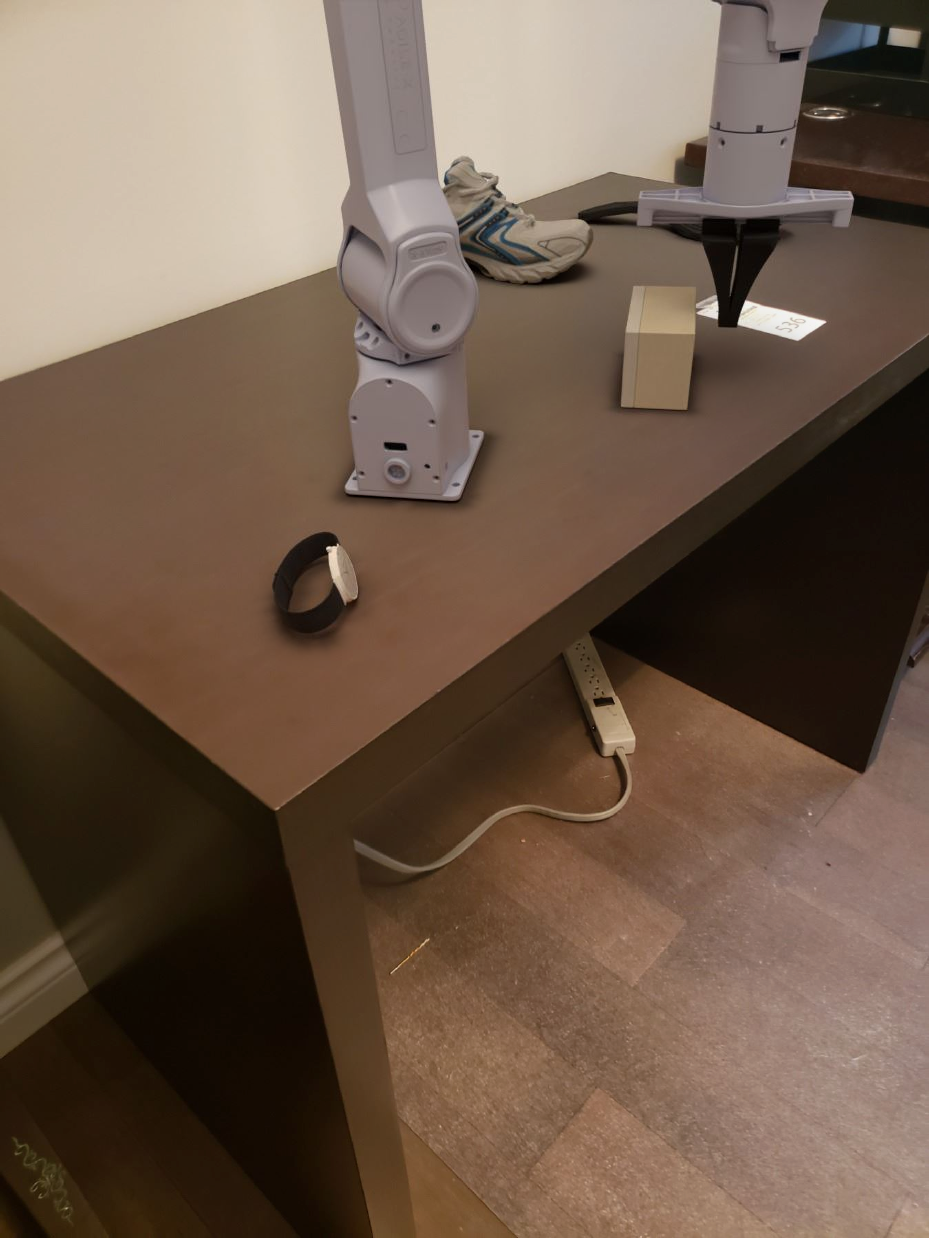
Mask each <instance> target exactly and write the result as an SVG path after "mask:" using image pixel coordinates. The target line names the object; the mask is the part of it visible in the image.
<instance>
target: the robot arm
mask: <svg viewBox="0 0 929 1238" xmlns="http://www.w3.org/2000/svg"><path fill="white" fill-rule="evenodd" d="M710 1H711V2H713V3H717V4H719V5H720V6H721V9H720V16H719V17H720V19H719V27H718V28H719V29H718V39H717V47H716V57H715V67H714V77H713V87H712V95H711V97H712V98H711V104H710V105H711V106H710V114H709V115H710V116H709V124H708V134H707V144H706V155H705V164H704V173H703V175H704V176H703V184H702V186H695V187H694V186H693V187H682V188H671V189H660V190H640V191H639V194H638V200H637V201H638V214H636V215H637V216H636V227H651V226H652V225H653V224H668V223H687V224H701V240H702V242H701V244H702V246H703V250H704V253H705V255H706V259H707V261H708V264H709V268H710V271H711V276H712V279H713V283H714V287H715V294H716V301H717V328H727V329H728V328H729V329H736V328H738V324H739V320H740V318H741V317H740V316H741V314H742V310H743V308H744V306H745V303H746V301H747V300H746V299H747V298H748V296H749V294H750V292H751V289H752V287H753V285H754V283H755V281H756V280H757V278H758V276H759V274H760V272H761V270H762V269H763V268H764V266H765V264H766V263H767V261H768V260H769V258H770V257H771V255H772V254H773V253H774V251H775V249H776V247H777V245H778V244H779V241H780V234H781V233H780V226H781V225H780V224H782V225H823V226H824V225H829V226H830V225H831V227H832V228H836V229H837V228H838V229H839V228H840V229H841V228H843V229H844V228H845V229H846V228H849V226H850V221H851V217H852V211H853V208H854V201H855V198H854V196H853V193H852V191H850V190H828V189H815V188H805V187H792V186H788V185H789V179H790V172H791V166H792V160H793V153H794V147H795V142H796V141H795V140H796V134H797V128H798V122H799V115H800V109H801V102H802V97H803V90H804V85H805V77H806V72H807V66H808V65H807V64H808V58H809V51H810V47H811V46H812V45H813V43H814V39H815V37H817V36H818V35H819V28H820V24H821V23H820V21H821V17H822V14H823V12H824V9H825V6H826V5H827V3H828V1H829V0H710ZM322 5H323V11H324V18H325V24H326V31H327V37H328V44H329V52H330V58H331V65H332V71H333V77H334V84H335V85H334V86H335V90H336V91H335V93H336V97H337V105H338V111H339V119H340V124H341V130H342V137H343V143H344V151H345V158H346V164H347V165H346V166H347V171H348V178H349V187H348V189H347V191H346V194H345V196H344V198H343V200H342V202H341V206H340V213H341V218H342V219H341V220H342V228H343V231H342V240H341V244H340V247H339V250H338V253H337V254H338V255H337V258H336V276H337V282H338V284H339V288H340V289H341V292H342V293H343V295H344V297H345V298H346V299H347V300H348V302H349V303H351V305H352V306H354V307H355V308H356V309H357V314H358V316H357V318H356V323H355V326H354V333H353V340H354V348H355V356H356V357H355V358H356V364H357V374H358V378H357V384H356V386H355V388H354V390H353V392H352V395H351V397H350V400H349V403H348V410H347V411H348V422H349V423H348V424H349V432H350V438H351V445H352V446H351V447H352V452H353V453H352V454H353V461H354V470H353V471H352V473H351V475H350V476H349V479H348V480H347V481H346V483H345V484H344V492H345V493H346V494H348V495H355V496H356V495H357V496H372V497H387V498H389V497H390V498H400V499H401V498H402V499H403V498H404V499H415V500H416V499H419V500H433V501H447V502H448V501H450V502H455V501H458V500H460V499H461V497H462V495H463V492H464V490H465V487H466V484H467V481H468V480H469V477H470V475H471V472H472V470H473V466H474V464H475V462H476V459H477V456H478V454H479V452H480V449H481V446H482V444H483V442H484V438H485V433H484V431H483V430H478V429H470V424H469V423H470V421H469V401H468V381H467V360H466V339H465V337H466V336H467V335H468V334H469V332H470V330H471V329H472V327H473V325H474V324H475V320H476V318H477V314H478V310H479V306H480V305H479V304H480V303H479V302H480V293H479V292H480V291H479V286H478V283H477V280H476V277H475V274H474V273H473V271H472V270H471V268H470V267H469V264H468V263H466V262H465V260H464V257H463V255H462V252H461V248H460V241H459V229H458V225H457V222H456V220H455V218H454V215H453V213H452V211H451V208H450V206H449V204H448V202H447V199H446V197H445V195H444V193H443V190H442V188H443V187H442V185H441V183H440V180H439V169H438V159H437V149H436V137H435V129H434V128H435V127H434V118H433V116H434V115H433V108H432V107H433V106H432V97H431V96H432V95H431V85H430V74H429V63H428V53H427V43H426V35H425V34H426V32H425V31H426V30H425V21H424V12H423V11H424V10H423V0H322ZM737 224H740V233H739V241H737V239H736V236H737ZM735 258H736V261H735ZM735 262H736V263H735ZM734 265H735V270H734ZM733 272H734V275H733ZM733 276H734V277H733ZM732 280H733V281H732Z"/></svg>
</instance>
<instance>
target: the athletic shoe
mask: <svg viewBox="0 0 929 1238" xmlns="http://www.w3.org/2000/svg"><path fill="white" fill-rule="evenodd" d="M499 181H500V177H499V176H498V175H495V174H493V173H492V172H483V171H480V172H478V171H477V170H476V169H475V161H474V160H473V159H472V158H471V157H469V156H467V155H466V156H465V155H460V156H459V157H457V158H455V159H454V160H452V162H451V164H450V167H449V168H448V169H447V170H446V171H445V172H444V177H443V183H444V186H443V187H441V188H442V190H443V193H444V195H445V197H446V199H447V202H448V204H449V206H450V208H451V211H452V213H453V215H454V218H455V220H456V222H457V225H458V229H459V241H460V248H461V252H462V255H463V257H464V260H465V262H466V263H467V264H470V265H472V266H474V267H476V268H478V269H479V271H480V272H481V273H482V274H483V275H484V276H486V277H488V278H492V277H493V278H494V280H496V281H499V282H500V281H501V282H510V283H512V284H520V285H523V284H525V283H526V282H527V283H528V284H536V283H540V282H542V281H543V280H544V279H546V280H550V279H553V278H554V277H556V276H558V275H559V274H560V273H564V272H566V271H568V270H569V269H570V268H571V267H572V266H574V265H576V264H577V263H578V262H579V261H580V260H581V259H582V258H583V257H584V256H585V255H586V254H587V253H588V251H589V250H590V248H591V246H592V245H593V242H594V238H595V237H594V229H593V228H592V226H590V225H589V224H588V223H587V222H586V220H579V219H578V218H573V219H561V220H560V219H559V220H548V221H547V220H546V221H545V220H537V219H536V217H535V215H534V214H532V213H528V214H526V213H525V211H524V209H523V208H521V207H520V206H519V205H518V204H515V203H514V202H510V201H508V200H507V197H506V195H504V194H503V193H502V191H501V190H499V188H497V185H499Z"/></svg>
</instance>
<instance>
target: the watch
mask: <svg viewBox="0 0 929 1238" xmlns="http://www.w3.org/2000/svg"><path fill="white" fill-rule="evenodd" d="M327 556H328V566H329V571H330V575H331V579H332V587H331V589H330V591H329V592H328V595H327V596H326V597H325V598H324V599H323V600H322V601H321V602H320V603H319V604H317V605H316V606H314V607H312V608H310V609H307V610H304V611H298V612H294V611H289V610H288V608H289V607H288V606H289V600H290V597H291V595H292V593H293V590H294V588H293V585H294V584H295V581H296V579H297V578H298V577H299V575H300V574H301V573H302V571H303V570H305V569H306V568H307V567H308V566H309V565H310V564H312V563H313V562H315V561H317V560H318V559H320V558H323V557H327ZM273 575H274V578H273V580H272V584H271V587H272V590H273V598H274V602H275V603H276V606H277V608H278V609H279V612H280V613H281V614H282V617H283V619H284V620H285V622H286V623H287V625H288V627H289V628H290V629H291V630H293V631H295V632H297V633H299V634H305V635H308V634H315V633H318V632H322V631H323V630H325V629H327V628H329V627H331V625H333V624H334V623H335V621H337V620H338V619H339V617H340V615H341V614H342V612H343V610H344V607H345V606H347V603H350V602H353V601H354V600H356V599H357V598H358V592H359V590H358V589H359V587H358V582H357V578H356V577H357V576H356V573H355V569H354V566H353V564H352V561H351V559H350V557H349V555H348V552H347V551H346V550H345V548H344V547H343V546H342V545H341V543H340V541H339V538H338V536H337V535H336V534H335V533H333V532H330V531H321V532H316V533H314V534H310V535H309V536H307V537H306V538H304V539H302V540H301V541H299V542H297V544H295V545H294V546H293V547H292V548H291V549H289V551H288V552H287V554H286V555H285V556H284V558H283V559H282V561H281V563H280V564H279V566H278V568H277V570H276V572H275V573H274V574H273Z"/></svg>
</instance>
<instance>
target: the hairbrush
mask: <svg viewBox="0 0 929 1238" xmlns="http://www.w3.org/2000/svg"><path fill="white" fill-rule="evenodd" d="M631 214H635V215H637V214H638V200H631V201H630V200H629V201H614V202H608V203H605V204H600V205H597V206H596V205H595V206H593V207H590V208H587V209H583V210H580V211H579V212H577V219H579V220H583V221H591V220H596V219H601V218H605V217H606V218H607V217H614V216H622V215H631ZM667 224H668V225H669V226H670V227H672V228H673V229H674V230H675V231H677V232H678V233H680V234H681V235H682V236H684V237H687V238H689V239H692V240H695V241H698V242H701V243H702V240H701V224H687V223H667ZM782 225H783V224H780V226H782ZM739 233H740V224H737V236H736V239H737V242H739Z"/></svg>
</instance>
